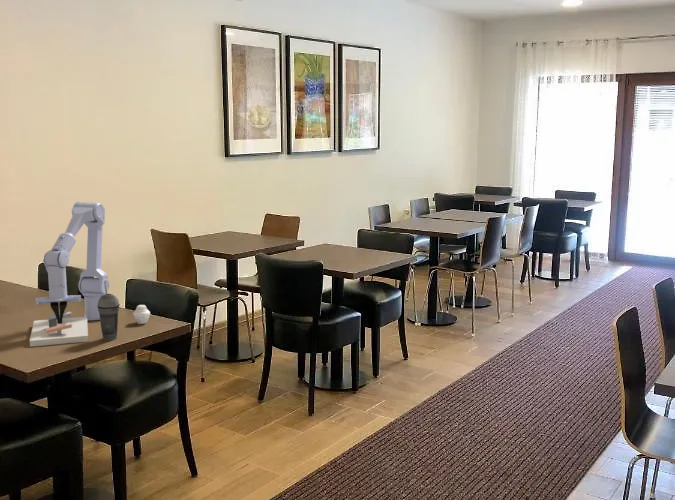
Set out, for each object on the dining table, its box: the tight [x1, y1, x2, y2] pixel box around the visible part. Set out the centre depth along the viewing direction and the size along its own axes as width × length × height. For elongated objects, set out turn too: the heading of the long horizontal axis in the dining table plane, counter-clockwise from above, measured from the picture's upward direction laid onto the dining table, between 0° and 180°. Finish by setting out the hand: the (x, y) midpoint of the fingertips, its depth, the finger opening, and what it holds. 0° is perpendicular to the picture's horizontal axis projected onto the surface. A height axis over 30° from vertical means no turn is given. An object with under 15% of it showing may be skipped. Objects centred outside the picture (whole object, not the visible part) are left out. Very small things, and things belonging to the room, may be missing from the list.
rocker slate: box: [47, 310, 73, 321], centre depth 247 cm, size 8×3×1 cm, turn 110°
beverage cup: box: [97, 281, 120, 342], centre depth 233 cm, size 7×7×20 cm
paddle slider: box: [49, 318, 57, 328], centre depth 239 cm, size 2×3×3 cm
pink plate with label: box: [46, 322, 72, 333], centre depth 232 cm, size 8×3×1 cm, turn 110°
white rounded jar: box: [132, 304, 151, 325], centre depth 254 cm, size 6×6×7 cm
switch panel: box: [29, 316, 89, 348], centre depth 240 cm, size 18×26×3 cm
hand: (60, 322), depth 240 cm, fingers closed
